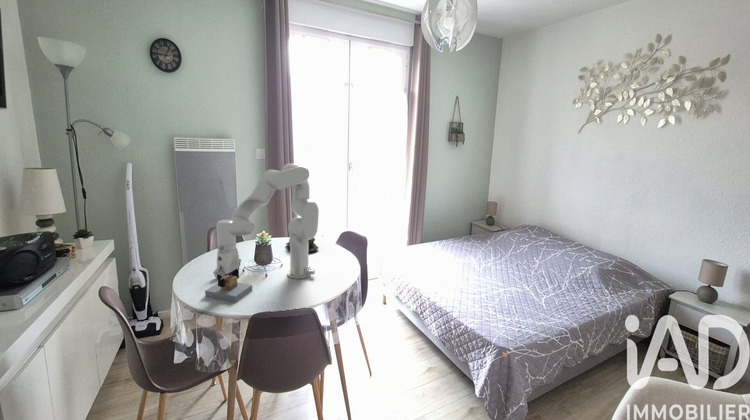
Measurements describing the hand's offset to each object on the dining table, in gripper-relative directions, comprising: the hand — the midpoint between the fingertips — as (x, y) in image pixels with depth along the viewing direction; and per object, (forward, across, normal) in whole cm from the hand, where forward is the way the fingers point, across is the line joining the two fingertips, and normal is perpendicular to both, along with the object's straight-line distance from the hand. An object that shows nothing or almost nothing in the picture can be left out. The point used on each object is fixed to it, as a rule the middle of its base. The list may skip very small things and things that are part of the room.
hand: (228, 282), depth 149 cm
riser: (+6, 0, 0) cm, 6 cm away
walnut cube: (+3, 0, 0) cm, 3 cm away
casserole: (+6, +70, -2) cm, 70 cm away
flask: (+6, +18, +14) cm, 24 cm away
